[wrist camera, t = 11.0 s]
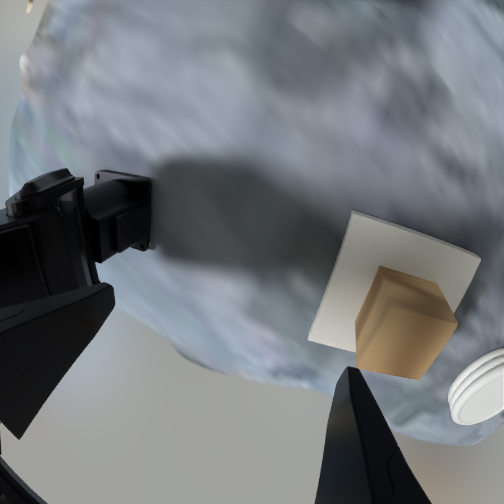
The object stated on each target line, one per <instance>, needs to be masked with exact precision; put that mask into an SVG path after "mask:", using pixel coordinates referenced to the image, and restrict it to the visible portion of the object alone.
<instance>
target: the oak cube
mask: <svg viewBox="0 0 504 504" xmlns="http://www.w3.org/2000/svg"><path fill="white" fill-rule="evenodd" d="M457 326H458V322H457V320H456V318H455V316H454V314H453V312H452V310H451V308H450V306H449V304H448V302H447V301H446V299H445V297H444V295H443V293H442V291H441V290H440V288H439V286H438V284H437V283H434V282H431V281H428V280H425V279H422V278H419V277H415V276H412V275H409V274H406V273H402V272H399V271H396V270H393V269H389V268H386V267H383V266H379V268H378V271H377V273H376V276H375V278H374V280H373V283H372V285H371V287H370V290H369V292H368V294H367V296H366V299H365V301H364V303H363V305H362V307H361V309H360V312H359V314H358V316H357V318H356V320H355V337H356V368H359V369H364V370H368V371H373V372H378V373H383V374H388V375H393V376H399V377H404V378H410V379H416V380H419V379H420V378H421V377H422V376H423V374H424V373H425V372H426V371H427V369H428V368H429V367H430V365H431V364H432V363H433V361H434V360H435V359H436V357H437V356H438V354H439V353H440V352H441V350H442V349H443V347H444V346H445V344H446V343H447V341H448V340H449V338H450V337H451V335H452V334H453V332H454V331H455V329H456V328H457Z"/></svg>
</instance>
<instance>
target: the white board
mask: <svg viewBox="0 0 504 504" xmlns="http://www.w3.org/2000/svg"><path fill="white" fill-rule="evenodd" d="M480 262H481V258H480V257H479V256H478V255H477V254H475V253H473V252H470V251H468V250H465V249H463V248H461V247H458V246H455V245H453V244H450V243H448V242H445V241H443V240H440V239H437V238H435V237H432V236H429V235H426V234H424V233H421V232H418V231H415V230H412V229H410V228H407V227H404V226H401V225H398V224H395V223H392V222H389V221H386V220H383V219H380V218H377V217H374V216H371V215H367V214H364V213H361V212H358V211H354V210H352V212H351V215H350V219H349V222H348V225H347V229H346V232H345V235H344V238H343V241H342V244H341V247H340V250H339V253H338V256H337V259H336V262H335V265H334V268H333V271H332V274H331V276H330V279H329V282H328V285H327V288H326V290H325V293H324V296H323V298H322V301H321V304H320V306H319V309H318V311H317V314H316V316H315V319H314V322H313V324H312V327H311V329H310V331H309V336H308V340H309V341H313V342H317V343H320V344H324V345H328V346H332V347H336V348H340V349H344V350H348V351H352V352H356V337H355V320H356V318H357V316H358V314H359V312H360V309H361V307H362V305H363V303H364V301H365V299H366V296H367V294H368V292H369V290H370V287H371V285H372V283H373V280H374V278H375V276H376V273H377V271H378V268H379V266H383V267H386V268H389V269H393V270H396V271H399V272H402V273H406V274H409V275H412V276H415V277H419V278H422V279H425V280H428V281H431V282H434V283H437V284H438V286H439V288H440V290H441V291H442V293H443V295H444V297H445V299H446V301H447V302H448V304H449V306H450V308H451V310H452V312H453V314H454V312H455V311H456V309H457V307H458V305H459V304H460V302H461V300H462V298H463V296H464V294H465V293H466V291H467V289H468V287H469V285H470V283H471V281H472V279H473V277H474V275H475V273H476V270H477V268H478V266H479V264H480Z"/></svg>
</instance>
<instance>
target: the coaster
mask: <svg viewBox="0 0 504 504" xmlns="http://www.w3.org/2000/svg"><path fill="white" fill-rule="evenodd" d="M448 402H449V404H450V410H451V412H452V413H451V415H452V418H453V420H454V421H455V422H456V423H457V424H460V425H473V424H477V423H480V422H483V421H485V420H487V419H489V418H491V417H493V416H495V415H496V414H498V413H499V412H501V411H502V410H503V409H504V348H500V349H496V350H493V351H491V352H489V353H486V354H485V355H483V356H481V357H480V358H478V359H476V360H475V361H474V362H472V363H471V364H470V365H469V366H467V367H466V368H465V369H464V370H463V371H462V372H461V373H460V374H459V376H458V377H457V378H456V379H455V381H454V382H453V384H452V385H451V388H450V390H449V393H448Z"/></svg>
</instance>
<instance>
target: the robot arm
mask: <svg viewBox="0 0 504 504" xmlns="http://www.w3.org/2000/svg"><path fill="white" fill-rule="evenodd" d="M99 175H100V176H99ZM144 183H146V187H145V186H144ZM83 185H84V178H83V177H75V176H73V175H71V173H70V172H69V170H68V169H67V168H63V169H59V170H56V171H52V172H49V173H46V174H43V175H41V176H39V177H36V178H34V179H32V180H30V181H29V182H27V183H25V184H24V186H23V187H22V189H21V190H20V191H19V192H17V193H16V194H14V195H13V196H12V197H11V198H9V199H8V200H7V201H6V202H5V205H6V208H5V209H2V210H0V424H1V422H2V423H3V424H4V425H5V427H6V428H7V429H8V430H9V431H10V432H11V433H12V434H13V435H14V436H15V437H17V439H19V440H20V438H21V437H22V436H23V434H24V433H25V431H26V429H27V428H28V426H29V425H30V423H31V422H32V420H33V419H34V417H35V416H36V414H37V413H38V411H39V410H40V409H41V407H42V405H43V404H44V403H45V401H46V400H47V398H48V397H49V396H50V394H51V393H52V391H53V390H54V389H55V387H56V386H57V385H58V383H59V382H60V380H61V379H62V378H63V377H64V375H65V374H66V372H67V371H68V370H69V368H70V367H71V366H72V365H73V363H74V362H75V361H76V359H77V358H78V357H79V356H80V354H81V353H82V352H83V350H84V349H85V348H86V347H87V345H88V344H89V343H90V342H91V340H92V339H93V338H94V337H95V335H96V334H97V332H98V331H99V329H100V328H101V326H102V325H103V323H104V322H105V320H106V319H107V317H108V316H109V314H110V313H111V311H112V310H113V308H114V306H115V296H114V288H113V286H112V285H110V284H108V283H105V282H103V283H101V282H100V281H99V278H98V274H97V269H96V265H95V262H98V263H102V262H104V261H105V260H107V259H108V258H110V257H112V256H113V255H115V254H116V253H121V252H123V251H124V250H126V249H127V248H129V247H131V248H134V249H137V250H140V251H146V250H148V249H149V236H150V218H151V206H150V204H151V186H152V185H151V181H150V180H149V179H147V178H142V177H137V176H131V175H126V174H120V173H114V172H109V171H103V170H100V171H97V172H96V173H95V185H93V186H90V187H87V188H84V189H83ZM143 244H144V246H145V247H144V246H143ZM0 455H1V440H0ZM0 504H47V503H46V502H45V501H44V500H43V499H42V498H41V497H39V496H38V495H37V494H36V493H35V492H34V491H33V490H32V489H31V488H30V487H29V486H28V485H27V484H26V483H25V482H24V481H23V480H22V479H21V478H20V477H19V476H18V475H17V474H16V473H15V472H14V471H13V470H12V469H11V468H10V467H9V466H8V464H7V463H6V462H5V461H4V460H3V459H2V458H1V456H0ZM315 504H432V503H431V502H430V500H429V499H428V497H427V495H426V494H425V492H424V490H423V489H422V487H421V486H420V484H419V482H418V481H417V479H416V478H415V476H414V474H413V473H412V471H411V469H410V467H409V466H408V464H407V462H406V460H405V458H404V456H403V454H402V452H401V450H400V448H399V446H398V444H397V442H396V440H395V438H394V436H393V434H392V432H391V430H390V428H389V426H388V424H387V422H386V420H385V418H384V416H383V414H382V412H381V410H380V408H379V406H378V404H377V402H376V400H375V398H374V396H373V395H372V393H371V391H370V389H369V387H368V385H367V383H366V381H365V379H364V377H363V376H362V374H361V372H360V370H359V369H358V368H354V367H350V366H348V367H346V368H345V370H344V372H343V373H342V375H341V377H340V378H339V380H338V382H337V384H336V388H335V393H334V397H333V402H332V406H331V411H330V415H329V419H328V424H327V431H326V439H325V446H324V453H323V460H322V466H321V472H320V478H319V483H318V489H317V494H316V499H315Z"/></svg>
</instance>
